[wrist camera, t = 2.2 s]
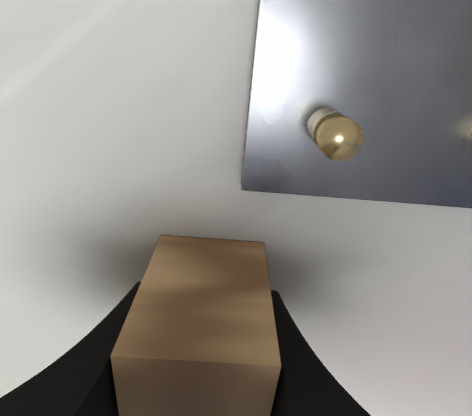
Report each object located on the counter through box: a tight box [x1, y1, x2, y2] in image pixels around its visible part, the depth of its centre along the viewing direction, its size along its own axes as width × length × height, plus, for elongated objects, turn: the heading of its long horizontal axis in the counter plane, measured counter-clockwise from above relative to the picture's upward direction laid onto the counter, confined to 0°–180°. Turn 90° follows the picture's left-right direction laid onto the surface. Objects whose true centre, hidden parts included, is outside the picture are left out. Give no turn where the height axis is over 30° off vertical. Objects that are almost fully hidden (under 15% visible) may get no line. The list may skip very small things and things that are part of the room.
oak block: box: [110, 235, 281, 416], centre depth 12 cm, size 4×4×6 cm
